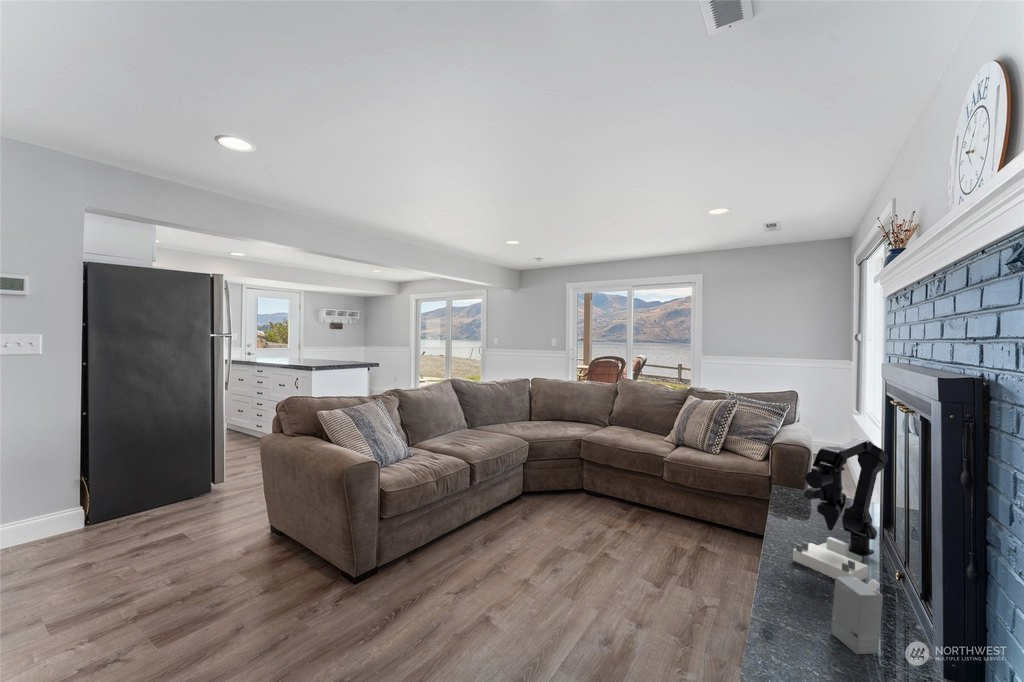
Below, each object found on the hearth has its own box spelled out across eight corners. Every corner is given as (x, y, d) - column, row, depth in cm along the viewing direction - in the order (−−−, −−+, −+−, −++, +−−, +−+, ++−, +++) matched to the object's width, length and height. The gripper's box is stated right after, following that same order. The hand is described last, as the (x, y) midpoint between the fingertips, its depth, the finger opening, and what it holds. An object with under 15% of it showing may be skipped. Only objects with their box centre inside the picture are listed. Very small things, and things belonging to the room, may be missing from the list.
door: (820, 545, 169) (820, 530, 169) (868, 564, 154) (868, 548, 154) (806, 550, 165) (807, 534, 165) (855, 570, 150) (855, 553, 150)
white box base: (810, 553, 162) (810, 536, 161) (867, 577, 145) (868, 559, 145) (793, 560, 157) (793, 543, 157) (850, 585, 141) (850, 566, 140)
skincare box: (830, 633, 118) (830, 575, 118) (854, 632, 119) (854, 574, 118) (857, 656, 110) (857, 594, 109) (883, 654, 110) (884, 593, 110)
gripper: (810, 472, 169) (811, 511, 170) (799, 485, 156) (800, 528, 156) (846, 478, 161) (847, 519, 162) (838, 492, 148) (838, 537, 148)
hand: (832, 525), depth 157 cm, fingers open, 9 cm apart
